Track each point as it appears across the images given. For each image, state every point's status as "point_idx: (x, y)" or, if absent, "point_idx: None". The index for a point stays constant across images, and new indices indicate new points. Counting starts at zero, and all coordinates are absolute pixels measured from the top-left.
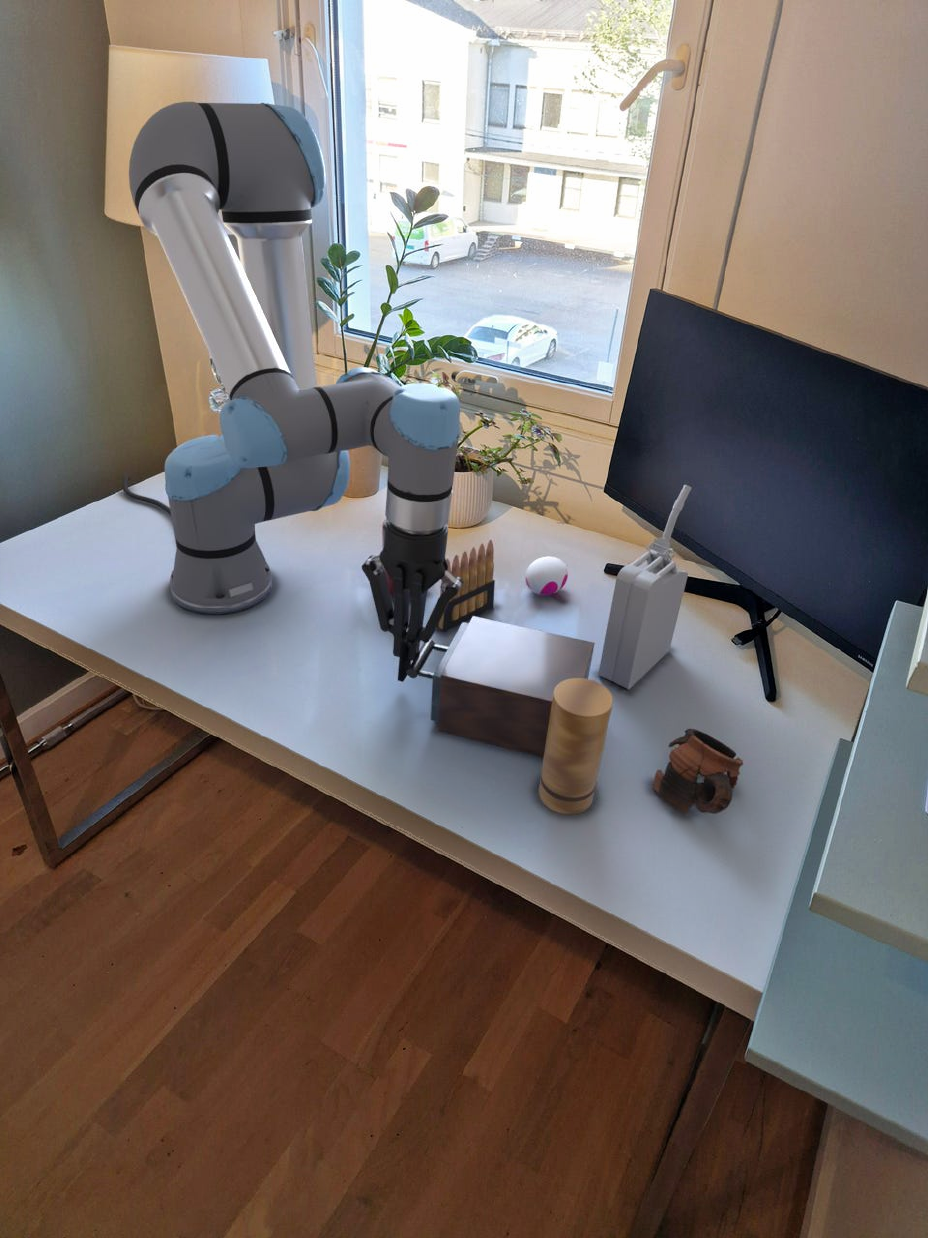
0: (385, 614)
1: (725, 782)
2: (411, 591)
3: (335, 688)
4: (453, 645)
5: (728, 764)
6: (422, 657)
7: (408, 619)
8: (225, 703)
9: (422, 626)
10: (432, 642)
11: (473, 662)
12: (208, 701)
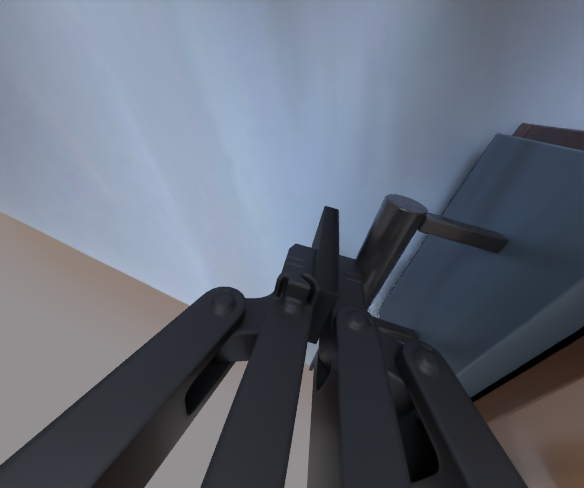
0: (183, 428)
1: None
2: None
3: (209, 221)
4: (509, 353)
5: None
6: (371, 295)
7: (305, 351)
8: (100, 254)
9: (381, 351)
10: (417, 224)
11: (553, 463)
12: (82, 251)
